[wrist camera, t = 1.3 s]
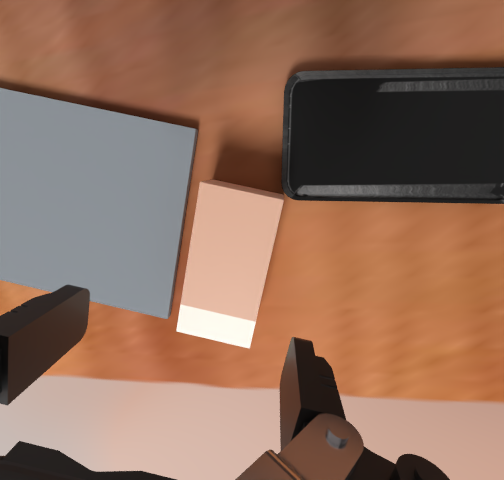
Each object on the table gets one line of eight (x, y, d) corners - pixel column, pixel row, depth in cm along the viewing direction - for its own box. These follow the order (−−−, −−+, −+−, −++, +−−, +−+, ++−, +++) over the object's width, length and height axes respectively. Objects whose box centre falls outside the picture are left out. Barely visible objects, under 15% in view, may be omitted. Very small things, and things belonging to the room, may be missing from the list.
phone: (522, 204, 19) (281, 199, 20) (508, 201, 20) (280, 198, 21) (552, 64, 17) (284, 69, 19) (536, 70, 18) (284, 74, 20)
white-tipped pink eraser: (212, 179, 21) (200, 181, 18) (283, 194, 21) (283, 200, 18) (191, 307, 24) (176, 331, 20) (253, 322, 24) (249, 348, 20)
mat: (198, 129, 21) (195, 128, 20) (170, 315, 24) (167, 319, 23) (-54, 77, 21) (-64, 74, 21) (-46, 264, 25) (-54, 267, 24)
